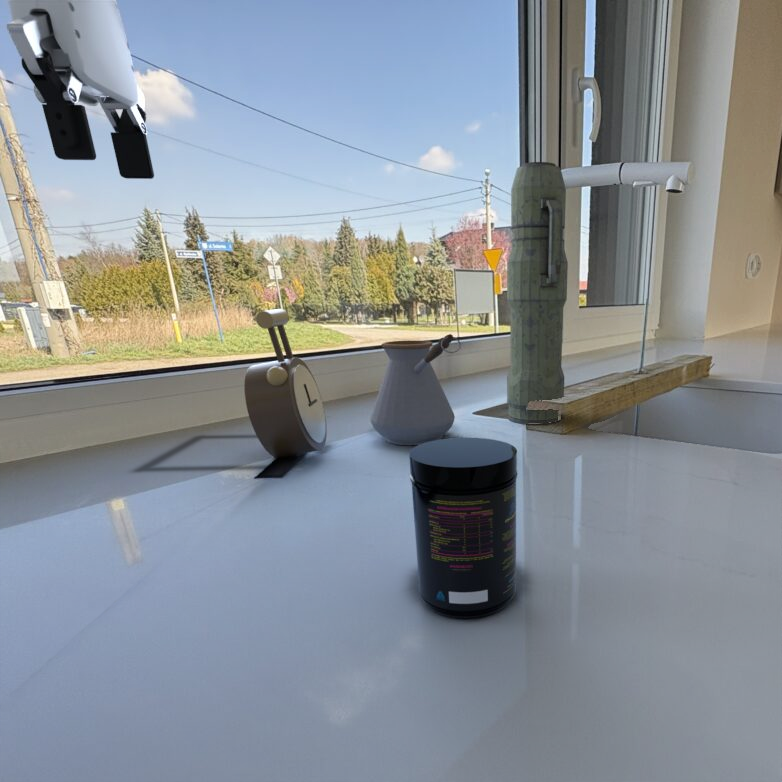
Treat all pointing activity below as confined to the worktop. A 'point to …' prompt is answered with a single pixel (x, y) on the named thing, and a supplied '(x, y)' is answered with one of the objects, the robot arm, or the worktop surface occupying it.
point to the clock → (284, 397)
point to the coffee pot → (412, 394)
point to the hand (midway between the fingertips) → (109, 169)
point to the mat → (279, 466)
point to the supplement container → (465, 524)
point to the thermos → (536, 290)
